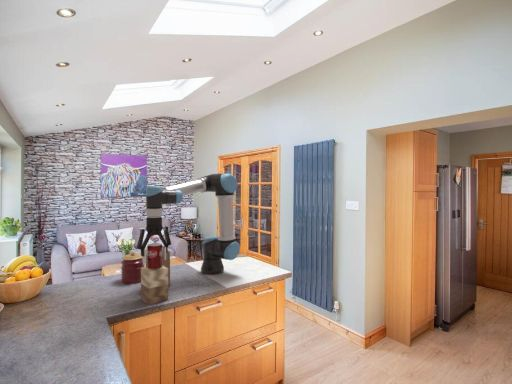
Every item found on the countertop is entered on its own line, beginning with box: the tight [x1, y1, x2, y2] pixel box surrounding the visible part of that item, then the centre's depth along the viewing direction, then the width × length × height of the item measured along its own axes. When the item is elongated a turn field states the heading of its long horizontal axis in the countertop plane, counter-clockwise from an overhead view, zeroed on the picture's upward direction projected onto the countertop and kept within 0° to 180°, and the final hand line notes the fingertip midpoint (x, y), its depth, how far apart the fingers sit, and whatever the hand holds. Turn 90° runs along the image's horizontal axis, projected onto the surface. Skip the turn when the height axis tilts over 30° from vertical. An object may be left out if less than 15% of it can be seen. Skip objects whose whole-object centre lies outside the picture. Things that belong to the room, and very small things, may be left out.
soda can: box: [146, 242, 163, 270], centre depth 152 cm, size 7×7×12 cm
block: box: [145, 250, 171, 287], centre depth 169 cm, size 10×10×20 cm
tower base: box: [140, 283, 169, 306], centre depth 153 cm, size 10×10×8 cm
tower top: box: [140, 266, 168, 289], centre depth 152 cm, size 10×10×8 cm
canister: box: [120, 251, 145, 285], centre depth 180 cm, size 13×13×18 cm
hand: (154, 260), depth 152 cm, fingers open, 9 cm apart
